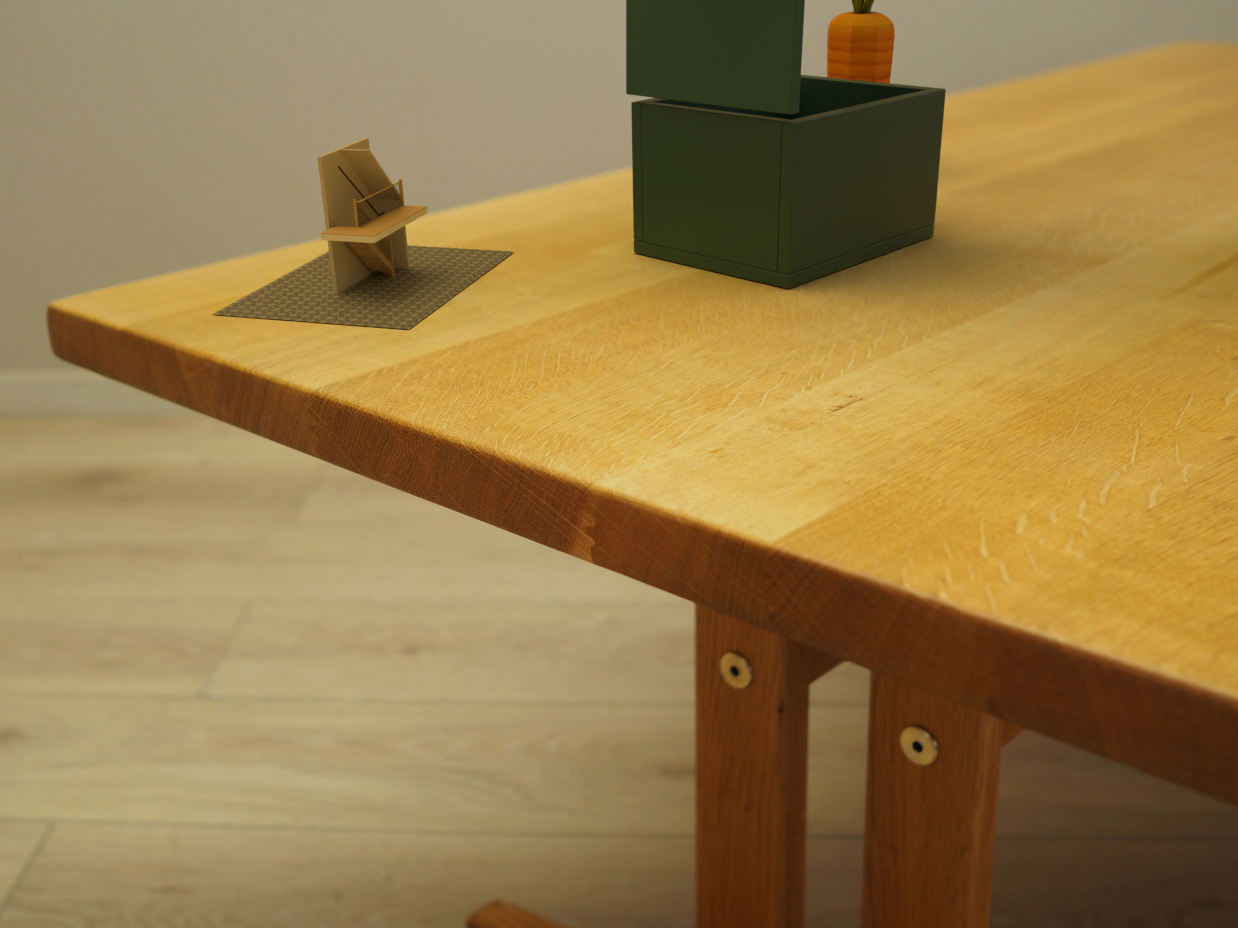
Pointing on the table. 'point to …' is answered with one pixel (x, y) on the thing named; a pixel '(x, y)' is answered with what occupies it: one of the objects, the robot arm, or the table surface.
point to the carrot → (860, 44)
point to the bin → (787, 179)
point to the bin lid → (716, 52)
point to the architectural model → (366, 256)
